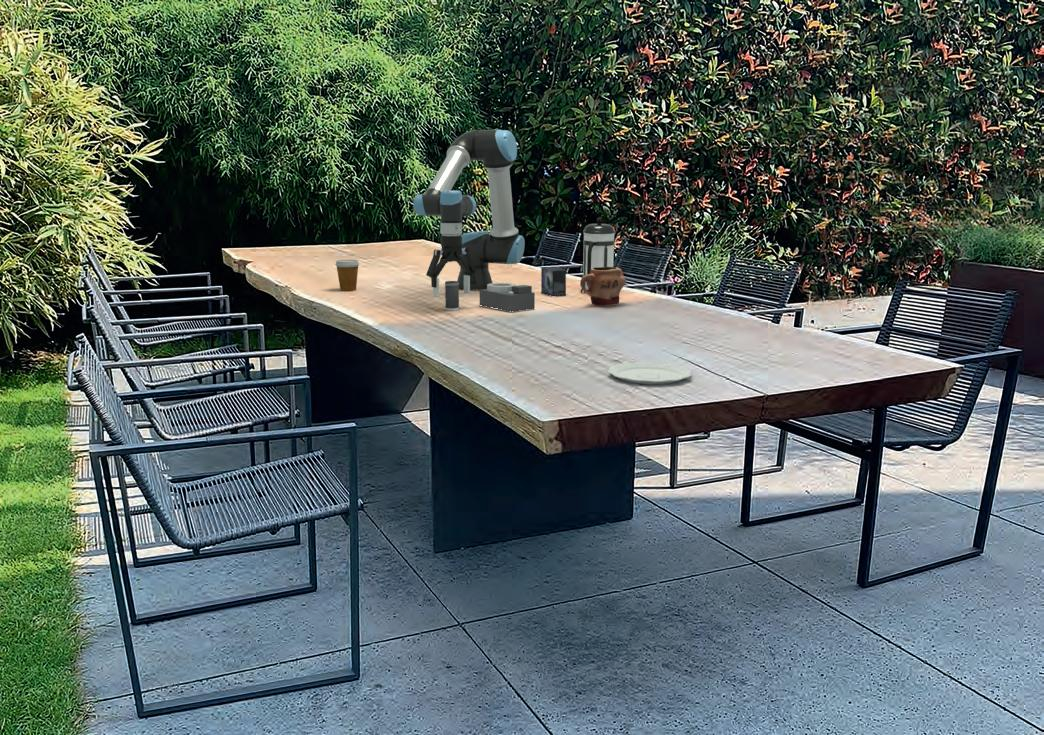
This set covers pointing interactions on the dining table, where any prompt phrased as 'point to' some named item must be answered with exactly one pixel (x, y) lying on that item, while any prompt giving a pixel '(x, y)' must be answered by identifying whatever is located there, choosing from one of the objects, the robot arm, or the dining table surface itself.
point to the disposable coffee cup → (347, 274)
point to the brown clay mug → (604, 285)
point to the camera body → (508, 296)
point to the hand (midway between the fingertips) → (451, 295)
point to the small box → (553, 281)
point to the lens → (451, 295)
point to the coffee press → (598, 247)
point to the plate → (649, 372)
